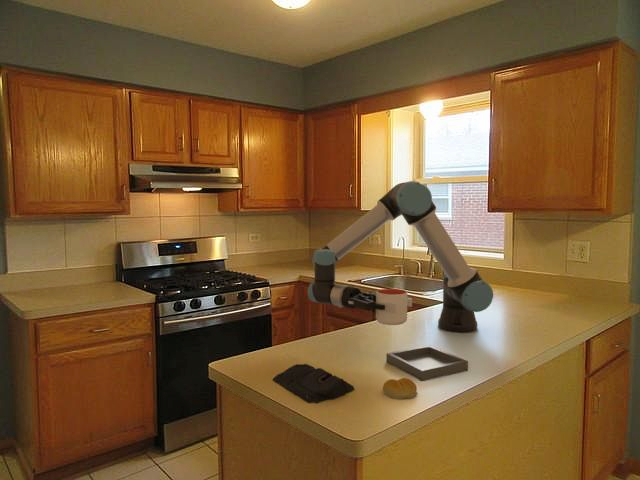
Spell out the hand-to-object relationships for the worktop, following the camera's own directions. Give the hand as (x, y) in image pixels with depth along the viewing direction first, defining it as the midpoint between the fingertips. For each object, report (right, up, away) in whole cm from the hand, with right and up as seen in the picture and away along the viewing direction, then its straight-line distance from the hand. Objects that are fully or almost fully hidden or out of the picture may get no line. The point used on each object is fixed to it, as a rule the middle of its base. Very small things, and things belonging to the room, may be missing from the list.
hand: (403, 305), depth 151 cm
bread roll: (-5, -20, -24) cm, 32 cm away
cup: (-3, -6, +3) cm, 8 cm away
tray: (+6, -18, -4) cm, 20 cm away
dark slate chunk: (-29, -20, -19) cm, 40 cm away
